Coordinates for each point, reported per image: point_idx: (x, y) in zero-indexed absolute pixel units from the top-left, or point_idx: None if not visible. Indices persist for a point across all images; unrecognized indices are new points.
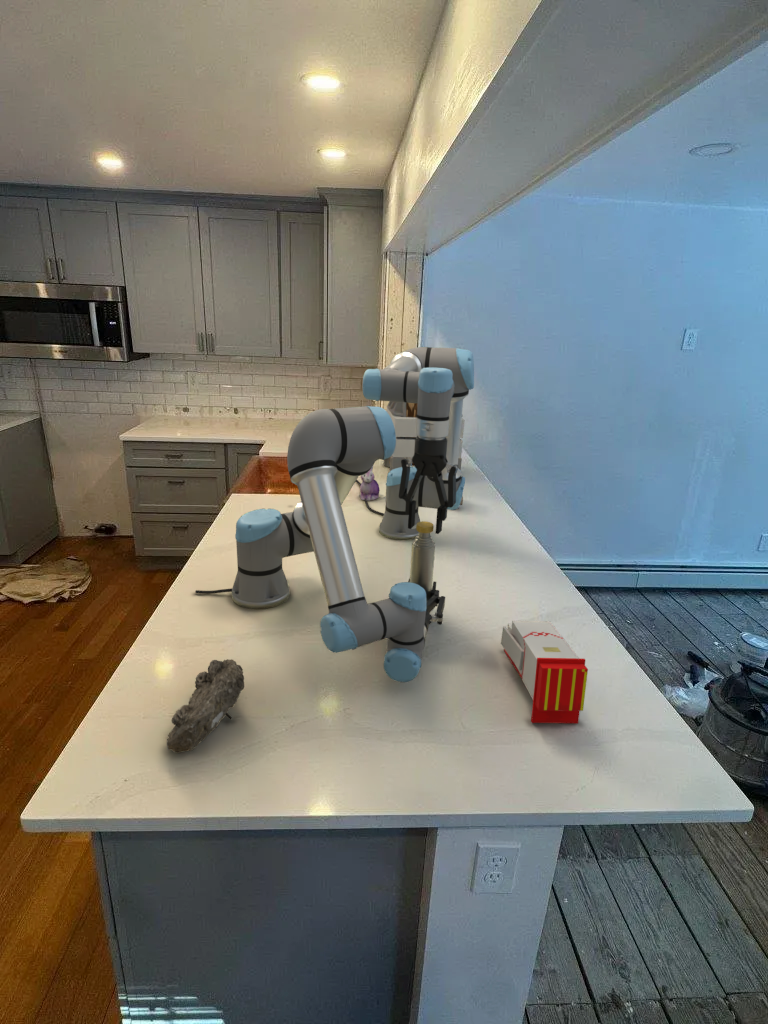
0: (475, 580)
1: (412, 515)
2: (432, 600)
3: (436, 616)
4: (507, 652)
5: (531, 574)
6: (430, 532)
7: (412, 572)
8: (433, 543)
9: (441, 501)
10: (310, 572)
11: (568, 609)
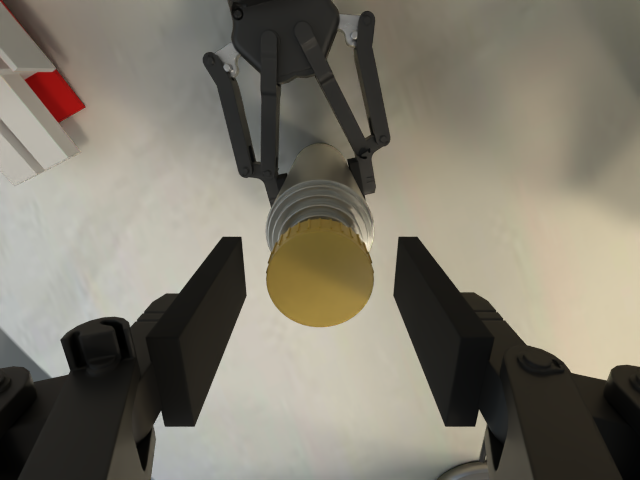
0: (259, 371)
1: (419, 292)
2: (264, 136)
3: (224, 61)
4: (11, 16)
5: (167, 436)
6: (275, 244)
7: (343, 167)
8: None
9: (93, 407)
10: (636, 249)
11: (49, 339)
